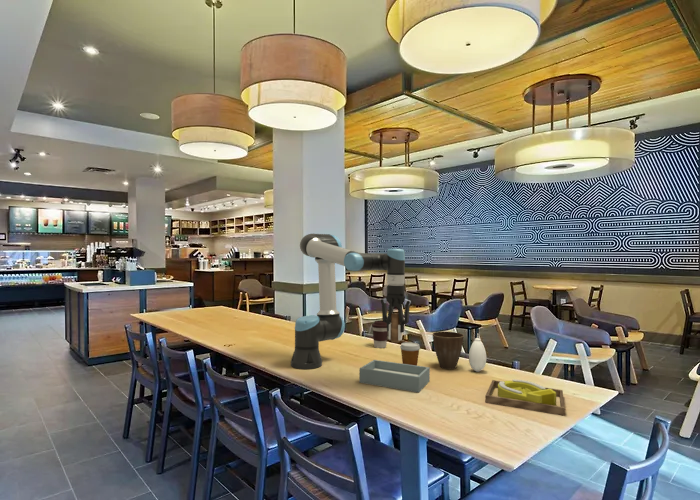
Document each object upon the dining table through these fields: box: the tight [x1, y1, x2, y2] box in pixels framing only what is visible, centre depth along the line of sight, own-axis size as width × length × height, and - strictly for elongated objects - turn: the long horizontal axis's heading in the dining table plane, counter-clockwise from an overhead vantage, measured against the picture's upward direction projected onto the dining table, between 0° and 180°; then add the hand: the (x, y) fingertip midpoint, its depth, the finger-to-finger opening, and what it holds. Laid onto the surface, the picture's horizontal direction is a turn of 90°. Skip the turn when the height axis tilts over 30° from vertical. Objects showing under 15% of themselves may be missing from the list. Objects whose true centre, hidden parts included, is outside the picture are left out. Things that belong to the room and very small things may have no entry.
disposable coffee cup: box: [399, 342, 421, 366], centre depth 191 cm, size 10×10×12 cm
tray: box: [358, 359, 431, 393], centre depth 173 cm, size 26×16×6 cm, turn 64°
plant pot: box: [431, 331, 465, 370], centre depth 197 cm, size 15×15×16 cm
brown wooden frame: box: [484, 379, 565, 416], centre depth 154 cm, size 26×21×2 cm
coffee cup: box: [371, 320, 389, 349], centre depth 238 cm, size 10×10×15 cm
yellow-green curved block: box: [497, 378, 557, 406], centre depth 154 cm, size 16×21×5 cm
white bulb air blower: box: [468, 333, 487, 373], centre depth 190 cm, size 8×8×18 cm
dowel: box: [390, 312, 400, 344], centre depth 173 cm, size 4×4×12 cm
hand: (395, 339), depth 173 cm, fingers closed on dowel, 3 cm apart
